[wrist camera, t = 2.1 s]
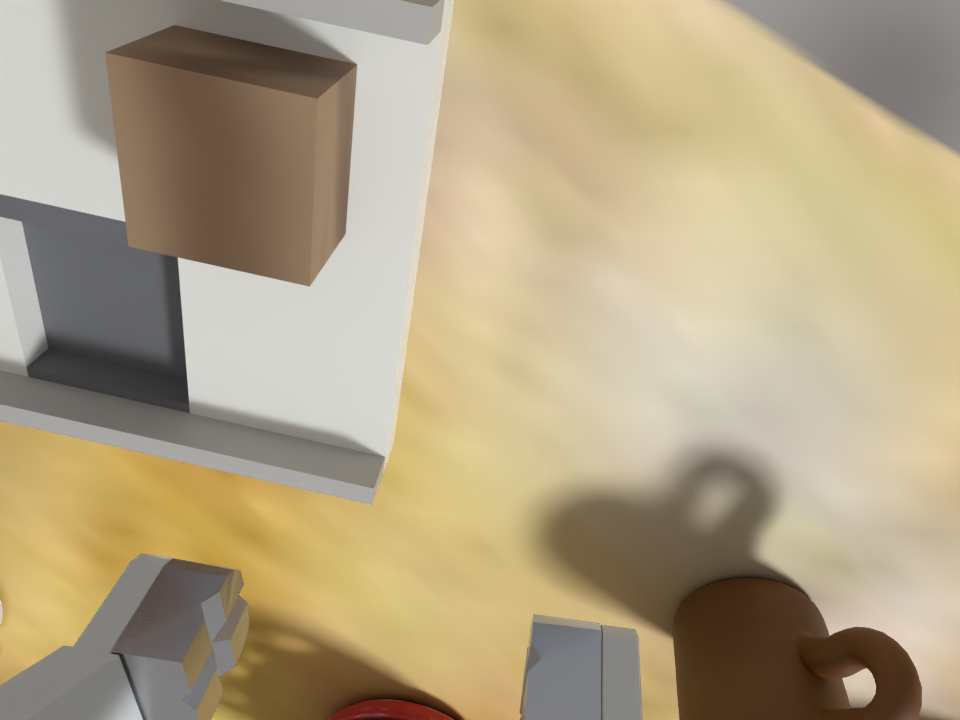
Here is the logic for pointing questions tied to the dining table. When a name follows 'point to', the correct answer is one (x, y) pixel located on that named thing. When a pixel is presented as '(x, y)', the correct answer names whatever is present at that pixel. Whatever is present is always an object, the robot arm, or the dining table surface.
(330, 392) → the white board with recesses
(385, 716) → the plant pot
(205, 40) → the block
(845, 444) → the dining table surface
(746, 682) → the mug
